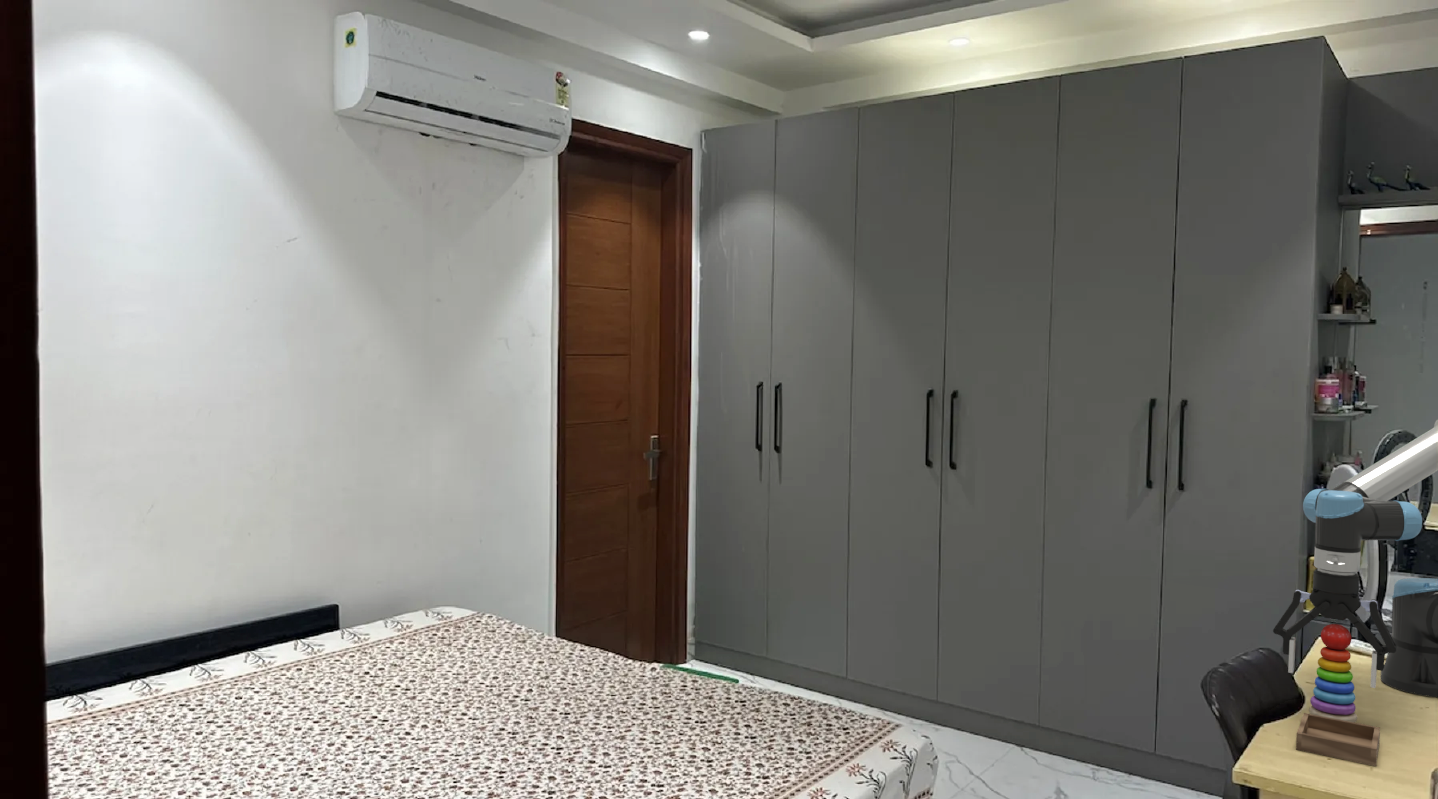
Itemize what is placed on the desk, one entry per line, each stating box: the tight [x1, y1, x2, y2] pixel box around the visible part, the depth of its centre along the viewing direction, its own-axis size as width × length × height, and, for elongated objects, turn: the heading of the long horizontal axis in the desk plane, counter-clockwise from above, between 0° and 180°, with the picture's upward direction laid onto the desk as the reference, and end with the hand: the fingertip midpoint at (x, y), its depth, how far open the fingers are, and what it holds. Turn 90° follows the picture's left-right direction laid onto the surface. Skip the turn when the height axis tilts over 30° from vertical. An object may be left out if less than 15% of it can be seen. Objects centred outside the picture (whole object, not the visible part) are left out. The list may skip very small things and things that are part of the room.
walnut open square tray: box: [1295, 712, 1381, 767], centre depth 177 cm, size 12×12×3 cm
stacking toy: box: [1308, 623, 1358, 723], centre depth 190 cm, size 8×8×19 cm
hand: (1331, 678), depth 190 cm, fingers open, 13 cm apart
